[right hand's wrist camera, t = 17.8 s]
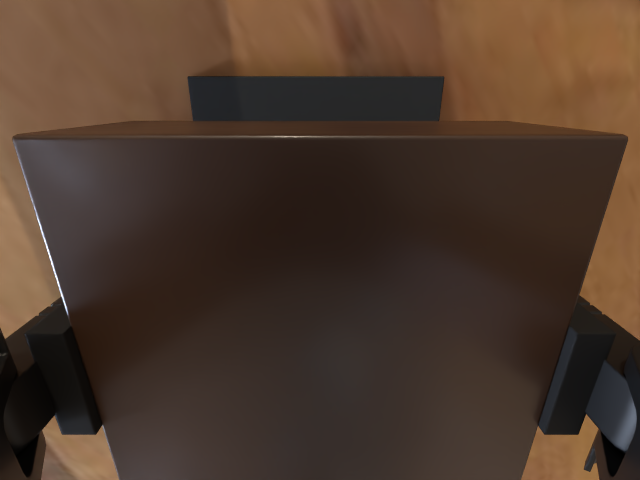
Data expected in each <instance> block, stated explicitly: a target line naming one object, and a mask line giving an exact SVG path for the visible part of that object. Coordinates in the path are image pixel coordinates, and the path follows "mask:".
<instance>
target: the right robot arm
mask: <svg viewBox="0 0 640 480" xmlns="http://www.w3.org/2000/svg"><path fill="white" fill-rule="evenodd" d="M586 414H587V415H588V416H589V418H590V419H591V420H592V421H593V422H594V423H595V425H596V426H597V427H598V428H599V429H598V432H597V434H596V437H595V439H594V442H593V444H592V447H591V449H590V452H589V454H588V457H587V459H586V461H585V467H584V470H586V471H589V472H590V471H591V469H592V466H593V464H594V463H596V462H597V467H598V473H599V479H600V480H640V341H639V340H638V339H637V338H635V337H634V336H633V335H631V334H630V333H629V332H627V331H626V330H625V329H623V328H622V327H621V326H619V325H618V324H617V323H615V322H614V321H613V320H611V319H610V318H609V317H608V316H606V315H605V314H602V312H601V311H600V310H598V309H597V308H596V307H594V306H593V305H590V303H589V302H588V301H586V300H585V299H584V298H582V297H581V296H580V295H579V297H578V300H577V303H576V306H575V310H574V313H573V316H572V319H571V322H570V325H569V327H568V331H567V334H566V337H565V340H564V343H563V347H562V350H561V353H560V356H559V359H558V362H557V366H556V369H555V372H554V375H553V378H552V381H551V385H550V388H549V391H548V394H547V397H546V401H545V404H544V407H543V410H542V413H541V416H540V420H539V423H538V426H539V427H540V429H541V430H542V432H543V433H544V435H578V434H579V431H580V429H581V426H582V423H583V421H584V418H585V416H586ZM54 415H55V417H56V420H57V423H58V425H59V428H60V431H61V433H62V435H96V434H97V432H98V431H99V429H100V428H101V426H102V423H101V420H100V416H99V413H98V410H97V407H96V404H95V400H94V397H93V394H92V391H91V388H90V385H89V381H88V378H87V375H86V372H85V369H84V365H83V362H82V359H81V356H80V353H79V350H78V346H77V343H76V340H75V337H74V334H73V330H72V327H71V325H70V321H69V318H68V315H67V312H66V309H65V306H64V302H63V299H62V296H61V297H60V298H59V299H57V300H56V301H55V302H53V303H52V304H51V307H47V308H46V309H44V310H43V311H42V312H40V313H39V316H35V317H34V318H32V319H31V320H30V321H29V322H27V323H26V324H25V325H23V326H22V327H21V328H19V329H18V330H17V331H15V332H14V333H13V334H11V335H10V336H9V337H8V338H6V339H5V338H4V336H3V333H2V331H1V329H0V480H41V474H42V468H43V462H44V456H45V450H46V441H45V437H44V434H43V432H42V429H43V428H44V427H45V426H46V425H47V423H48V422H49V421H50V420H51V419H52V418H53V416H54Z"/></svg>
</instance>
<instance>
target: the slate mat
mask: <svg viewBox="0 0 640 480" xmlns="http://www.w3.org/2000/svg"><path fill="white" fill-rule="evenodd" d="M443 83H444V77H329V76H188V84H189V92H190V100H191V107H192V115H193V121H439V116H440V108H441V100H442V92H443Z"/></svg>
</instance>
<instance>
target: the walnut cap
mask: <svg viewBox="0 0 640 480" xmlns="http://www.w3.org/2000/svg"><path fill="white" fill-rule="evenodd" d="M627 141H628V137H627V136H625V135H623V134H615V133H607V132H598V131H589V130H580V129H571V128H563V127H554V126H545V125H536V124H527V123H519V122H510V121H129V122H121V123H112V124H103V125H94V126H85V127H77V128H68V129H59V130H50V131H41V132H33V133H24V134H17V135H15V136H13V143H14V146H15V150H16V153H17V156H18V159H19V162H20V166H21V169H22V172H23V175H24V178H25V181H26V185H27V188H28V191H29V194H30V197H31V201H32V204H33V207H34V210H35V213H36V216H37V220H38V223H39V226H40V229H41V232H42V236H43V239H44V242H45V245H46V248H47V251H48V255H49V258H50V261H51V264H52V267H53V271H54V274H55V277H56V280H57V283H58V286H59V290H60V293H61V296H62V299H63V302H64V306H65V309H66V312H67V315H68V318H69V321H70V325H71V327H72V330H73V334H74V337H75V340H76V343H77V346H78V350H79V353H80V356H81V359H82V362H83V365H84V369H85V372H86V375H87V378H88V381H89V385H90V388H91V391H92V394H93V397H94V400H95V404H96V407H97V410H98V413H99V416H100V420H101V423H102V426H103V430H104V433H105V436H106V439H107V442H108V446H109V449H110V452H111V455H112V458H113V461H114V465H115V468H116V471H117V474H118V477H119V480H521V478H522V474H523V471H524V468H525V465H526V462H527V459H528V455H529V452H530V449H531V446H532V443H533V440H534V436H535V433H536V430H537V427H538V423H539V420H540V416H541V413H542V410H543V407H544V404H545V401H546V397H547V394H548V391H549V388H550V385H551V381H552V378H553V375H554V372H555V369H556V366H557V362H558V359H559V356H560V353H561V350H562V347H563V343H564V340H565V337H566V334H567V331H568V327H569V325H570V322H571V319H572V316H573V313H574V310H575V306H576V303H577V300H578V297H579V294H580V291H581V287H582V284H583V281H584V278H585V275H586V272H587V268H588V265H589V262H590V259H591V256H592V252H593V249H594V246H595V243H596V240H597V237H598V233H599V230H600V227H601V224H602V221H603V218H604V214H605V211H606V208H607V205H608V202H609V199H610V195H611V192H612V189H613V186H614V183H615V180H616V176H617V173H618V170H619V167H620V164H621V161H622V157H623V154H624V151H625V148H626V145H627Z"/></svg>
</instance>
